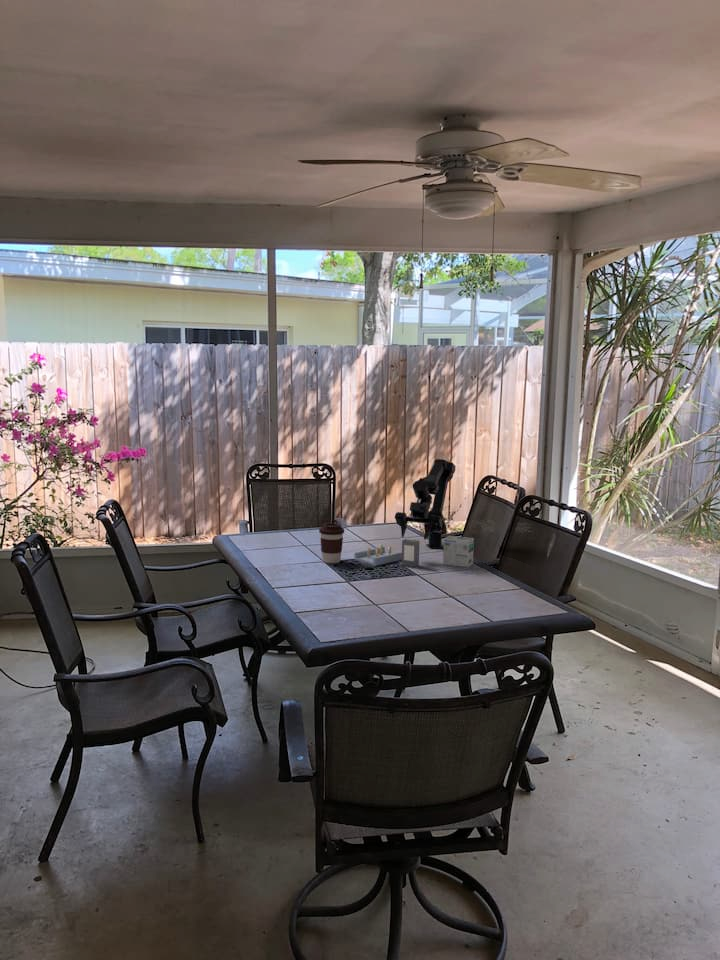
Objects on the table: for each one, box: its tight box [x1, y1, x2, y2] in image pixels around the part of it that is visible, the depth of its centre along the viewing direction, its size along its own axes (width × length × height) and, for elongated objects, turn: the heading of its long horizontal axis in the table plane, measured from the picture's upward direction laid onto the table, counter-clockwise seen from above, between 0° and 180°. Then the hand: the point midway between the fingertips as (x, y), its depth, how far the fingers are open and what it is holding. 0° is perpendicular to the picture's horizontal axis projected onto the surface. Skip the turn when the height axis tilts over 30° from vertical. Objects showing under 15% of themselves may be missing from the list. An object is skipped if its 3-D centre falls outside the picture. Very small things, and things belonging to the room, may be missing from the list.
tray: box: [354, 544, 402, 567], centre depth 307 cm, size 16×12×5 cm
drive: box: [400, 538, 420, 568], centre depth 299 cm, size 4×6×10 cm, turn 68°
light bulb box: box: [442, 535, 475, 568], centre depth 302 cm, size 11×7×11 cm, turn 65°
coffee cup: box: [318, 522, 345, 564], centre depth 302 cm, size 10×10×15 cm
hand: (413, 537), depth 301 cm, fingers open, 9 cm apart
